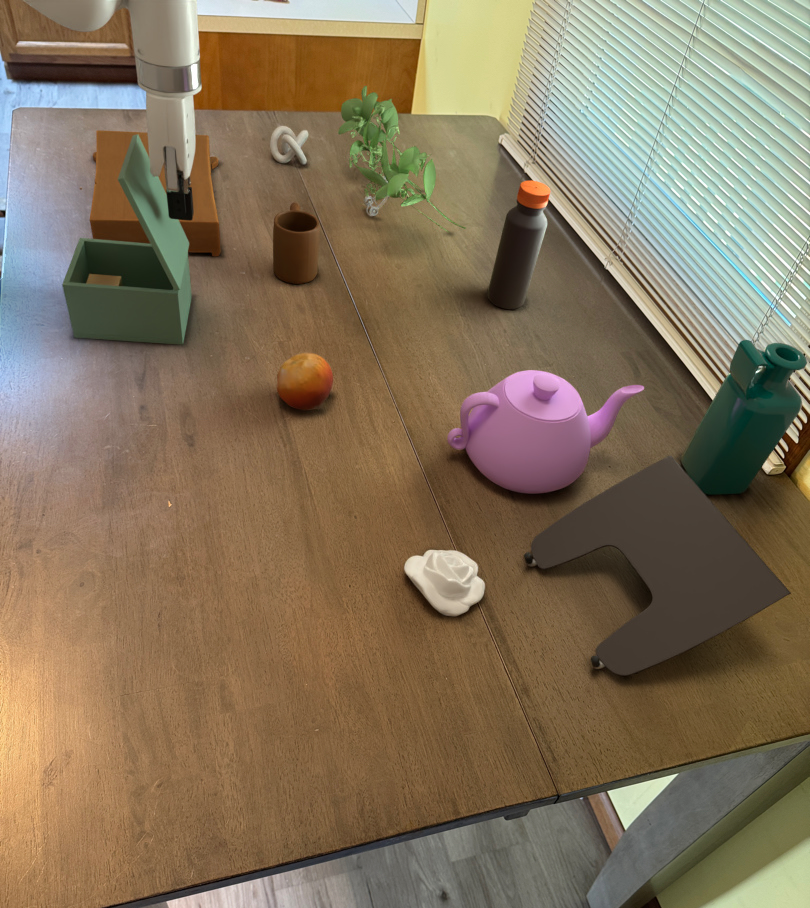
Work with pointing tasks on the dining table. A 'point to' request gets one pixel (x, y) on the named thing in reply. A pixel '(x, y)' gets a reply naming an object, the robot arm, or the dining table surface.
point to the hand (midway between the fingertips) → (181, 216)
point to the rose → (446, 580)
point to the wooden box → (117, 215)
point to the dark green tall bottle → (745, 419)
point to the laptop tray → (665, 564)
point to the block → (104, 280)
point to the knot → (288, 144)
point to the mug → (295, 245)
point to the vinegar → (519, 246)
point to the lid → (154, 211)
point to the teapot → (533, 431)
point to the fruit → (305, 381)
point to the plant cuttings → (385, 153)
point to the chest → (125, 294)
